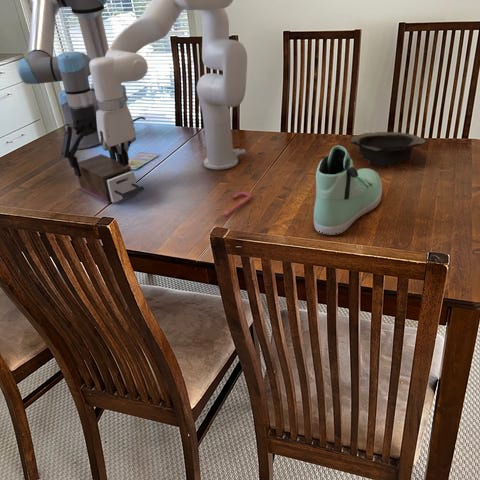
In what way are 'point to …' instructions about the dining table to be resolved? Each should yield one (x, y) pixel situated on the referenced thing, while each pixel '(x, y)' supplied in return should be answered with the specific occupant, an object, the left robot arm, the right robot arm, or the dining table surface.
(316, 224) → the sneaker
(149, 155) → the baking ingredient package
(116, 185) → the drawer
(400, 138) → the stone bowl
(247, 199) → the candy cane
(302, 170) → the dining table surface
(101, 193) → the taupe rectangular box
